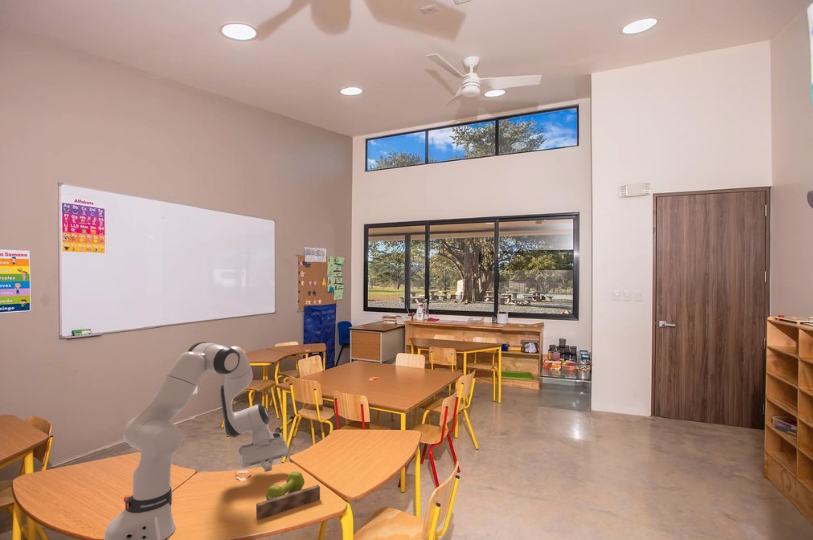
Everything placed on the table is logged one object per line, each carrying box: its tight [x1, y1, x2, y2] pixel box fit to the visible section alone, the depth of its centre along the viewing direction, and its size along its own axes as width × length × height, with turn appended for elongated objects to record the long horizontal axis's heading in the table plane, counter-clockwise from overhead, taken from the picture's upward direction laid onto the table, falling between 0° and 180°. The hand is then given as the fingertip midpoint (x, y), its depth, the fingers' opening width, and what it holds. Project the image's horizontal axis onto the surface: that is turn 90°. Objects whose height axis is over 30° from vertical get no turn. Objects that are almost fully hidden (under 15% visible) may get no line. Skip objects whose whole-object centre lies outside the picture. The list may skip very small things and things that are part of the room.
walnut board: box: [255, 484, 321, 521], centre depth 157 cm, size 24×2×5 cm, turn 125°
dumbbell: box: [265, 471, 305, 501], centre depth 165 cm, size 16×8×7 cm, turn 157°
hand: (268, 470), depth 179 cm, fingers closed
